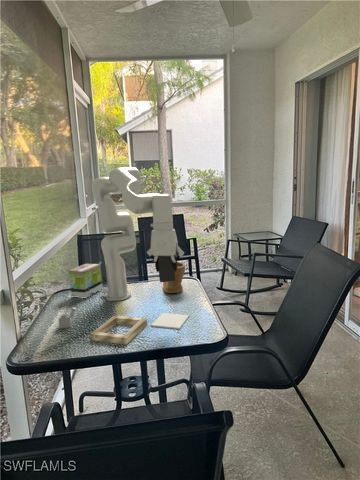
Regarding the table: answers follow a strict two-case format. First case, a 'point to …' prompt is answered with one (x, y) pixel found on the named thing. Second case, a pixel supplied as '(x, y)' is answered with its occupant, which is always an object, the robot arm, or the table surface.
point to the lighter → (66, 319)
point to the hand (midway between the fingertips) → (166, 270)
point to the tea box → (85, 280)
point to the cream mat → (170, 321)
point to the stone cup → (175, 285)
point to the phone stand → (166, 269)
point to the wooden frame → (117, 338)
